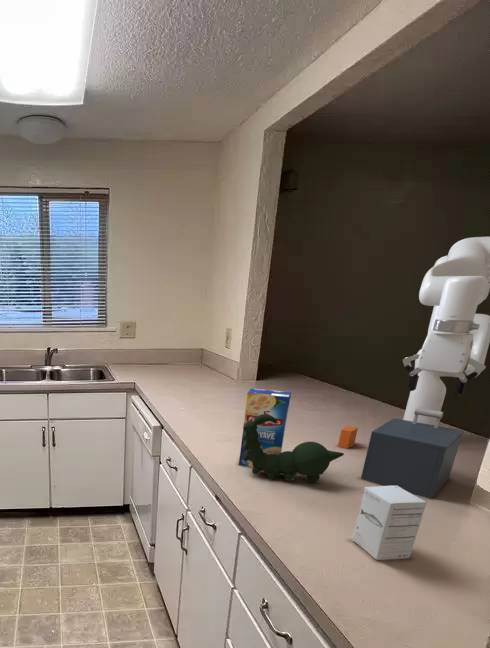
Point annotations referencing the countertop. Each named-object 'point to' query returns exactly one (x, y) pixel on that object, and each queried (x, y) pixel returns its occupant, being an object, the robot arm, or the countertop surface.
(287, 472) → the toy figurine
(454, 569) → the countertop surface
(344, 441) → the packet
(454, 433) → the box lid
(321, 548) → the countertop surface
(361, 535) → the white packaging box
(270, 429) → the blue food box
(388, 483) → the trash can
